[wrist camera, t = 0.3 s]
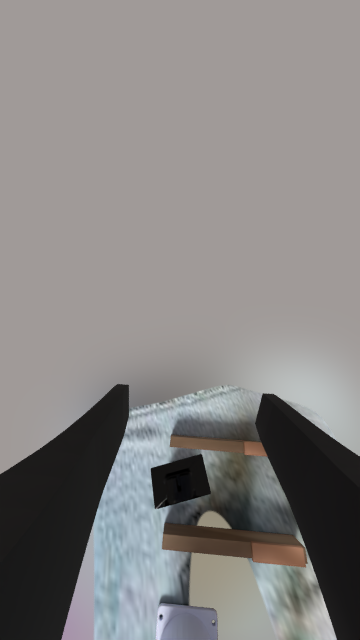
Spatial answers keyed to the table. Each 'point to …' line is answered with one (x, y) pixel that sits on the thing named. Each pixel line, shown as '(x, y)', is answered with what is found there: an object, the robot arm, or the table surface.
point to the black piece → (179, 481)
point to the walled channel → (230, 540)
